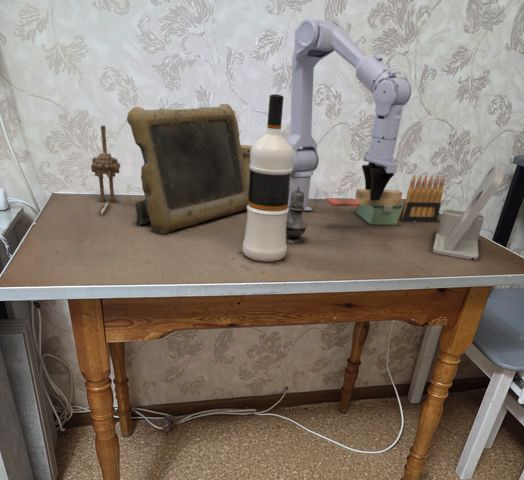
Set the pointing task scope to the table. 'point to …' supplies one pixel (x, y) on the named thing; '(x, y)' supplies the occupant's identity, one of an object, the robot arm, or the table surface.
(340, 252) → the table surface
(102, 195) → the ostrich figurine
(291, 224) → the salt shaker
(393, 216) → the tiffin box
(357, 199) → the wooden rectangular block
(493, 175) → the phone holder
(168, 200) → the tablet
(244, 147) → the handle
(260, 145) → the vodka
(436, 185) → the ammunition clip
